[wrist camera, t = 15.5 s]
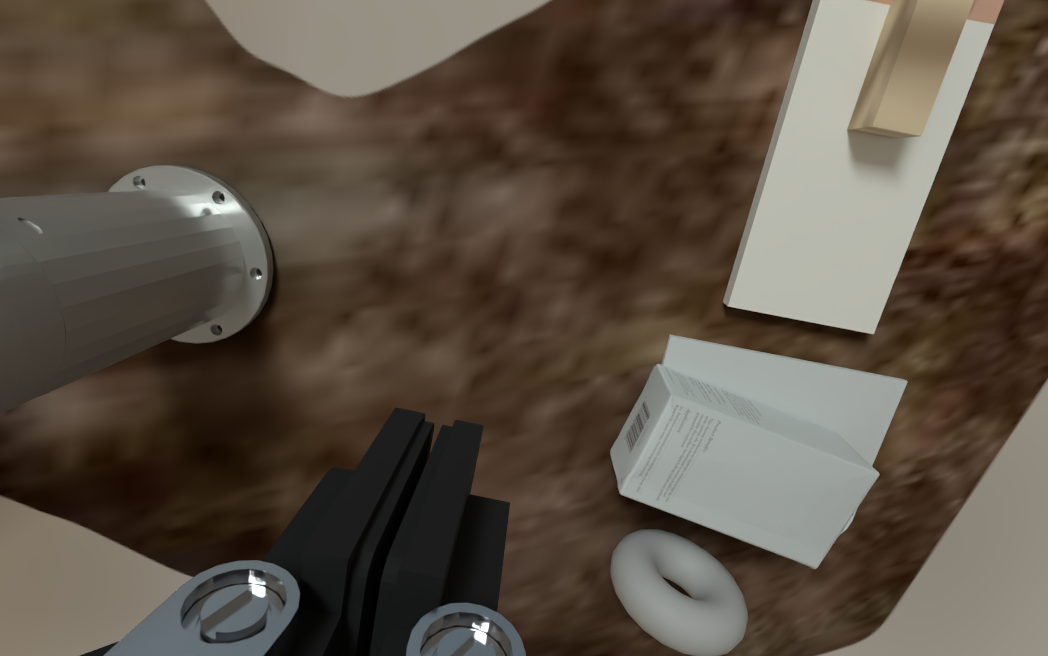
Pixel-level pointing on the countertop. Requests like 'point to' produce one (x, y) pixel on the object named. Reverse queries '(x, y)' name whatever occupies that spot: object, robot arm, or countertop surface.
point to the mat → (797, 388)
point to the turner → (908, 66)
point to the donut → (678, 593)
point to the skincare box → (739, 467)
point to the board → (843, 176)
